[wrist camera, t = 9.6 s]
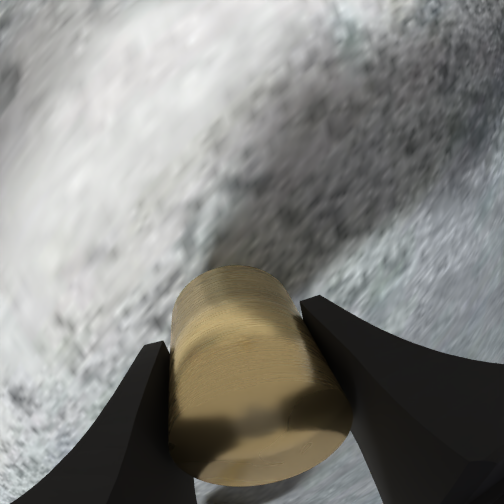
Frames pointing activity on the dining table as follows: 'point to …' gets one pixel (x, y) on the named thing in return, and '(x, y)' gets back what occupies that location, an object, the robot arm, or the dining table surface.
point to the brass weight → (248, 383)
